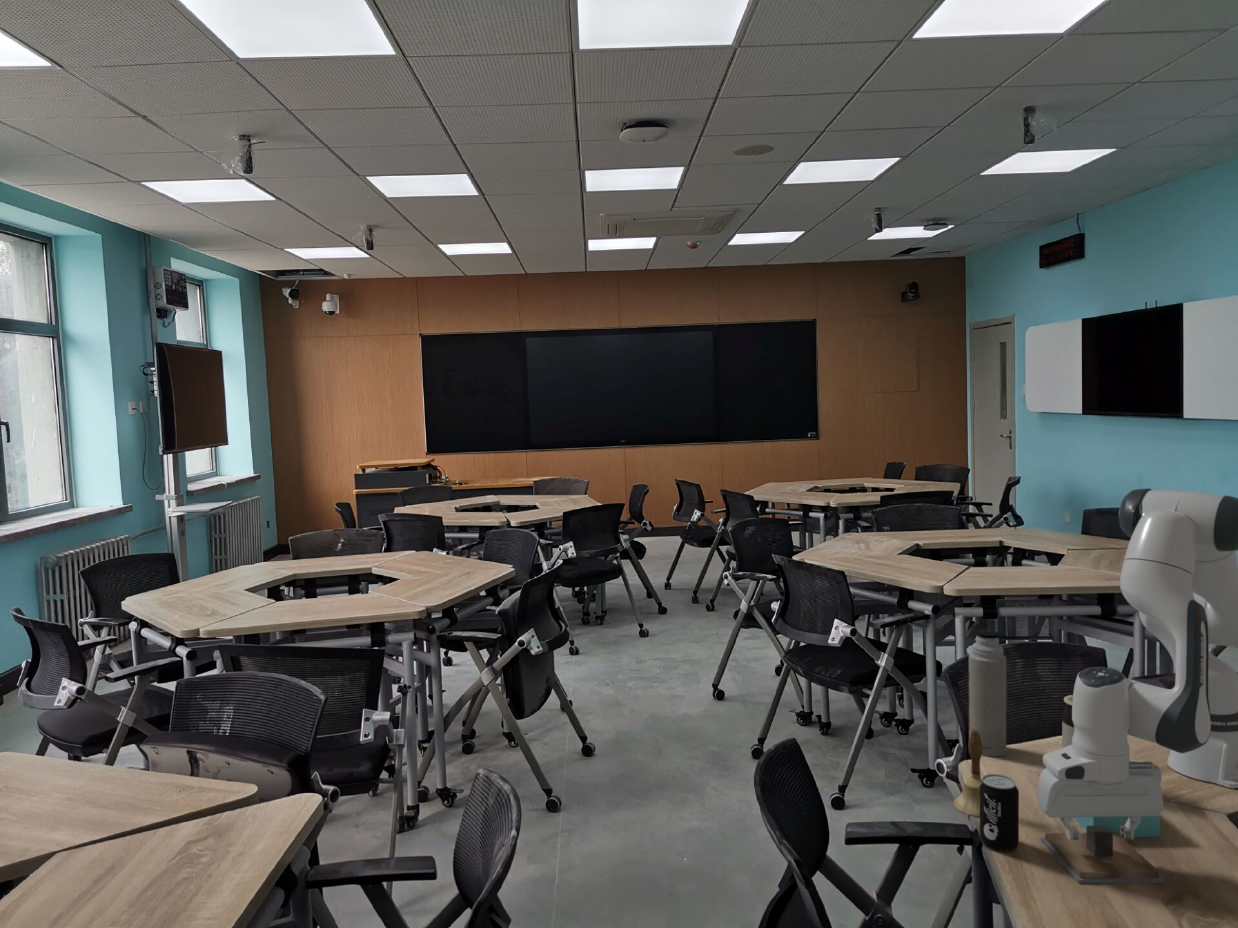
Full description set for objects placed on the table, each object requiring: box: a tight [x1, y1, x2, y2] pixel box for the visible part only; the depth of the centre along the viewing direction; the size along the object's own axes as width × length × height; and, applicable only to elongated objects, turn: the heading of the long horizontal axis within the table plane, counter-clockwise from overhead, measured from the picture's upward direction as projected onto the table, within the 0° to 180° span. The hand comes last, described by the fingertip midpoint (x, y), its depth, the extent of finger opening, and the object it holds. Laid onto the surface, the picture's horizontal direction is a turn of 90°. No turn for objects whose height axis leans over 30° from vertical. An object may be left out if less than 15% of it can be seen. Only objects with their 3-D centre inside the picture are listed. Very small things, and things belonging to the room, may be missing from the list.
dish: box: [1073, 814, 1161, 838], centre depth 163 cm, size 12×12×6 cm
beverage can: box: [979, 773, 1020, 852], centre depth 156 cm, size 7×7×12 cm
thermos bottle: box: [968, 629, 1007, 758], centre depth 196 cm, size 8×8×28 cm
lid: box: [1044, 826, 1160, 878], centre depth 149 cm, size 13×13×5 cm
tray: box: [1040, 836, 1164, 884], centre depth 150 cm, size 14×14×1 cm
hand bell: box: [953, 730, 983, 818], centre depth 170 cm, size 8×8×16 cm
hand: (1099, 838), depth 149 cm, fingers open, 8 cm apart
